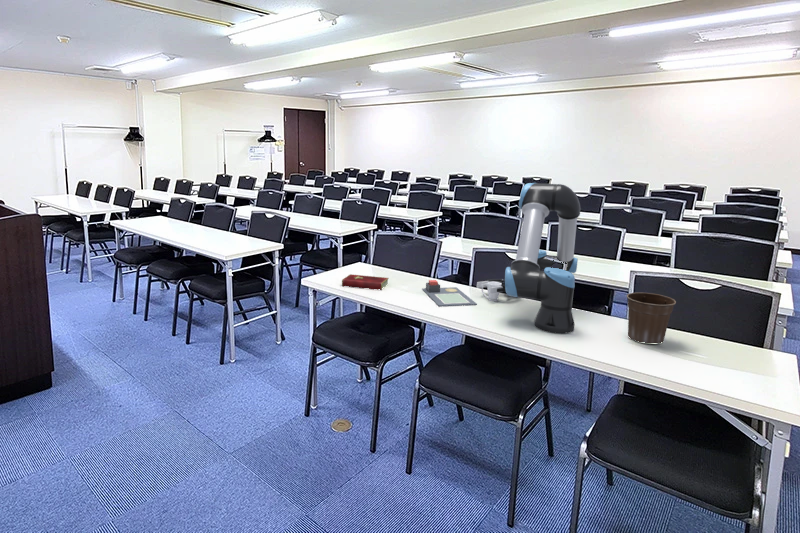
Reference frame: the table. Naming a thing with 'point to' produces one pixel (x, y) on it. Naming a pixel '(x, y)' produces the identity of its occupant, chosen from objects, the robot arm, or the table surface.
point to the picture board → (450, 297)
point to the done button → (433, 282)
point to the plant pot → (648, 316)
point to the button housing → (432, 288)
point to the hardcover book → (365, 281)
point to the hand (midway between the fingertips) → (483, 287)
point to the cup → (494, 295)
